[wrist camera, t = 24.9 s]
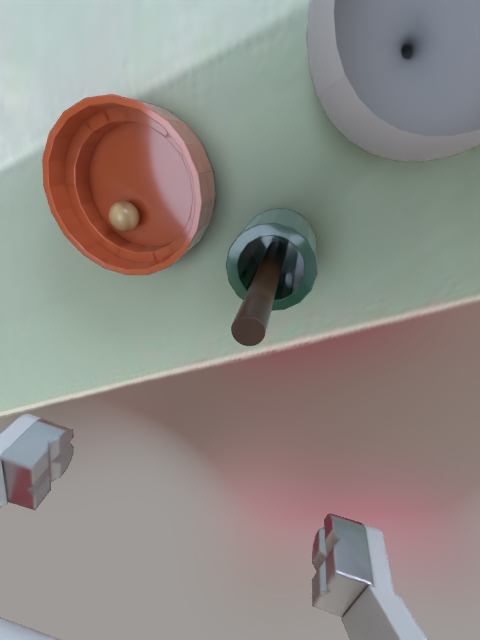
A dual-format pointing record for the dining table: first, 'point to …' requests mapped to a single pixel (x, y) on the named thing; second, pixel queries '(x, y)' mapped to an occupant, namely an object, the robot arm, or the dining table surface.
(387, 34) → the chalice
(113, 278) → the dining table surface
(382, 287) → the dining table surface
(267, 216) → the utensil pot
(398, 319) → the dining table surface
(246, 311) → the stick
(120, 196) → the bowl
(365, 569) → the robot arm
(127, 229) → the bead
